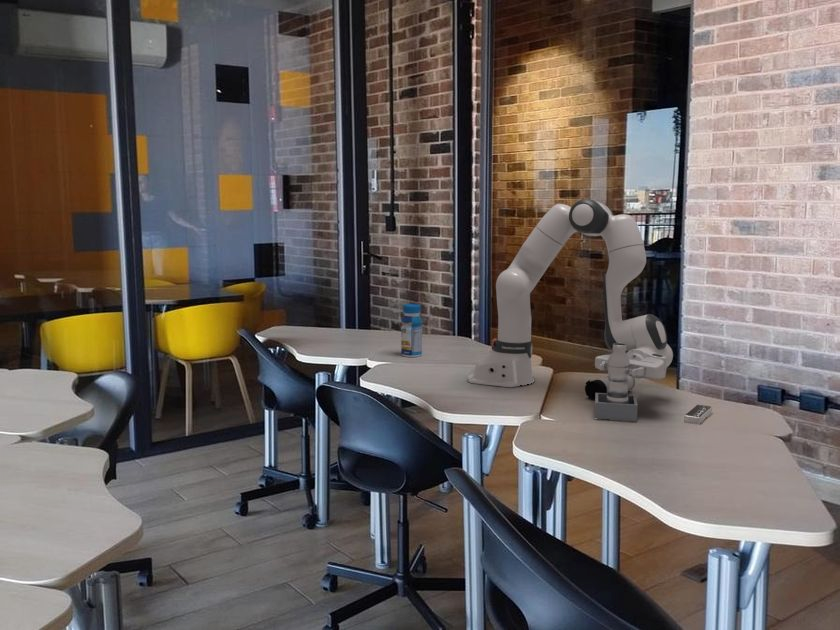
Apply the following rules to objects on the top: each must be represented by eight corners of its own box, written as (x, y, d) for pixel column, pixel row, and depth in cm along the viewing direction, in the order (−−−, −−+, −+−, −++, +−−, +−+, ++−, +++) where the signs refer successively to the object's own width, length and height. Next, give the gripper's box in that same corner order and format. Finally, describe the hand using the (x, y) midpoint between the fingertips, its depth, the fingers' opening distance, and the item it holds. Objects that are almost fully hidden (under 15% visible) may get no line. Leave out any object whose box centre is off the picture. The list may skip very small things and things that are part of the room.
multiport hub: (683, 423, 226) (683, 415, 226) (696, 411, 238) (697, 404, 238) (699, 425, 224) (699, 417, 223) (712, 414, 236) (712, 406, 235)
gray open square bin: (594, 419, 228) (595, 402, 227) (594, 408, 239) (595, 392, 238) (636, 421, 225) (637, 405, 225) (634, 411, 237) (635, 395, 236)
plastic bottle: (615, 416, 228) (617, 347, 225) (600, 410, 234) (603, 343, 231) (633, 413, 231) (636, 345, 227) (618, 407, 237) (621, 341, 233)
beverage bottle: (422, 357, 309) (422, 306, 305) (400, 357, 309) (400, 306, 306) (422, 353, 317) (422, 303, 314) (401, 353, 317) (401, 303, 314)
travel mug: (628, 366, 260) (593, 376, 246) (639, 384, 258) (604, 395, 244) (614, 376, 264) (579, 386, 250) (625, 393, 262) (590, 404, 248)
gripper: (608, 347, 246) (584, 354, 236) (671, 357, 233) (649, 365, 222) (607, 368, 247) (584, 375, 237) (670, 378, 234) (648, 387, 223)
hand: (616, 370), depth 230 cm, fingers open, 8 cm apart
